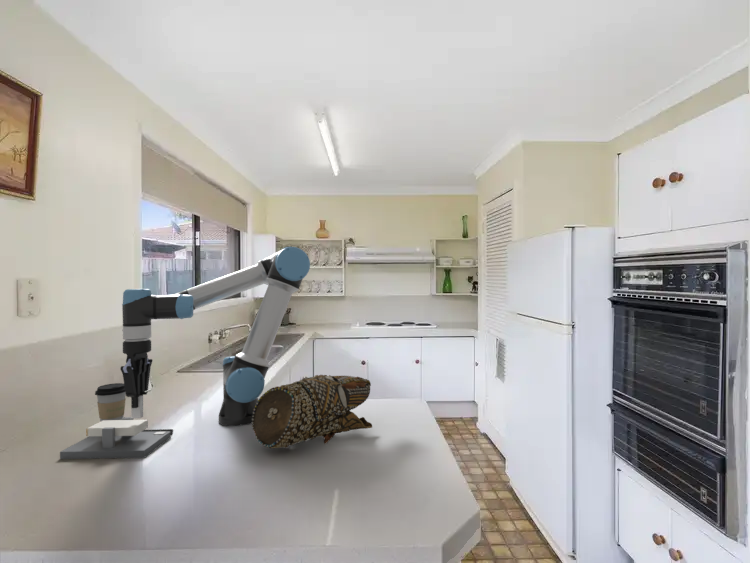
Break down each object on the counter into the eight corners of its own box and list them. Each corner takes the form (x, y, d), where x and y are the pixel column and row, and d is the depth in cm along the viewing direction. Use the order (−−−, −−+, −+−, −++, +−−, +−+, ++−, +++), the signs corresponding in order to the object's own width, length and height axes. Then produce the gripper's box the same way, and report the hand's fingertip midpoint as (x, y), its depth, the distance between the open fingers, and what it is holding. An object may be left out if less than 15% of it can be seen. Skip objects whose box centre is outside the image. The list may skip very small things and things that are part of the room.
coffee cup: (112, 435, 133) (111, 390, 133) (88, 434, 135) (87, 389, 135) (134, 425, 143) (134, 383, 143) (111, 424, 144) (111, 382, 145)
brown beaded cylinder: (329, 379, 152) (244, 381, 127) (370, 357, 140) (286, 355, 115) (342, 445, 142) (253, 461, 117) (388, 428, 130) (300, 442, 105)
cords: (174, 432, 136) (174, 428, 136) (170, 435, 133) (170, 431, 133) (123, 433, 136) (123, 429, 136) (118, 436, 133) (118, 432, 133)
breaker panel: (170, 437, 131) (170, 414, 131) (144, 457, 116) (144, 431, 116) (96, 438, 131) (95, 415, 131) (60, 458, 116) (59, 432, 116)
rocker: (148, 427, 127) (147, 419, 127) (134, 435, 120) (134, 427, 120) (102, 428, 127) (102, 420, 127) (86, 436, 120) (86, 428, 120)
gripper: (137, 336, 130) (137, 410, 130) (110, 342, 117) (111, 425, 117) (160, 336, 130) (161, 410, 130) (137, 342, 117) (137, 424, 117)
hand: (137, 417), depth 123 cm, fingers closed
